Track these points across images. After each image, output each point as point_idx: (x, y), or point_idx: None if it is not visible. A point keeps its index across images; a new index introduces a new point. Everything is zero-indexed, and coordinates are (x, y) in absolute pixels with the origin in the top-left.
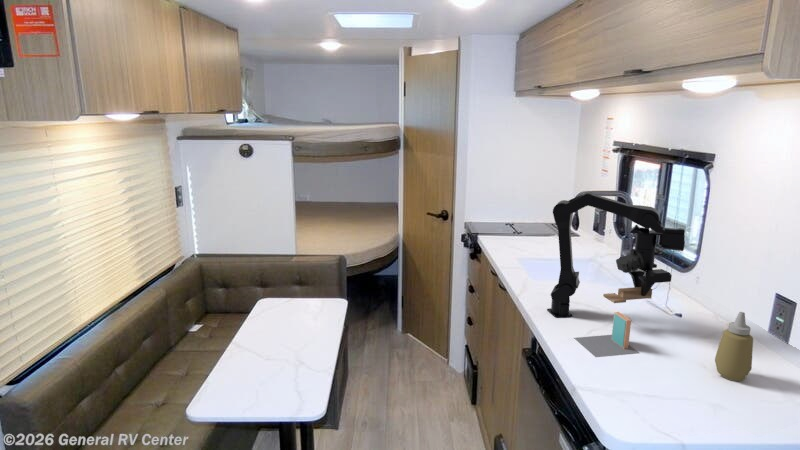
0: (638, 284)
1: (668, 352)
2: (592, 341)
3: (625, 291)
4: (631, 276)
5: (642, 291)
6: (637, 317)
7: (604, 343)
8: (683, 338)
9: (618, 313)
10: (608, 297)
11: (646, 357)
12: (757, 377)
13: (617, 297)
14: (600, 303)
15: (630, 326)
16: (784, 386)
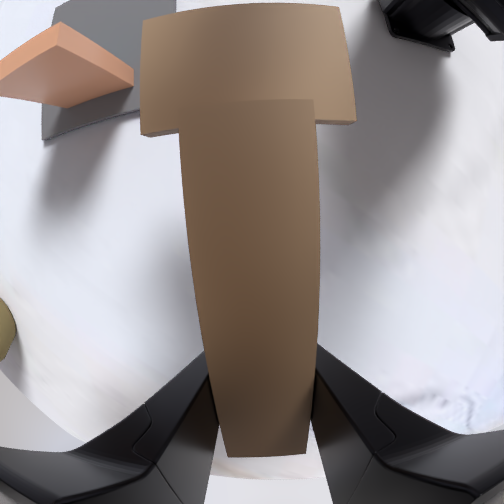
0: (324, 418)
1: (59, 247)
2: (135, 4)
3: (180, 143)
4: (443, 430)
5: (186, 372)
6: (351, 311)
7: (111, 37)
8: (157, 360)
9: (41, 41)
10: (244, 5)
11: (35, 155)
12: (13, 357)
13: (221, 75)
14: (483, 235)
15: (5, 96)
16: (5, 369)
